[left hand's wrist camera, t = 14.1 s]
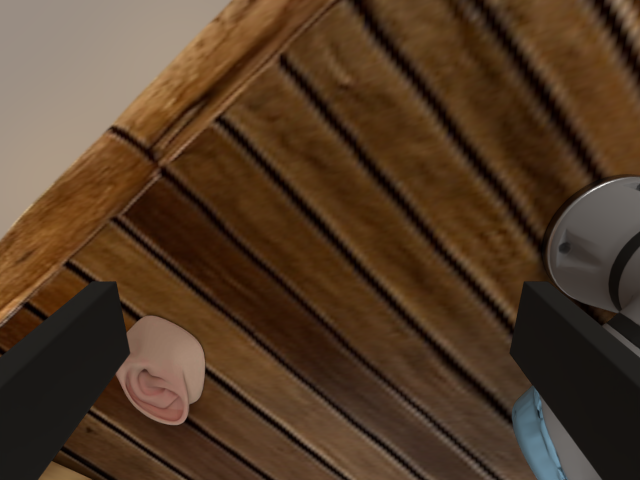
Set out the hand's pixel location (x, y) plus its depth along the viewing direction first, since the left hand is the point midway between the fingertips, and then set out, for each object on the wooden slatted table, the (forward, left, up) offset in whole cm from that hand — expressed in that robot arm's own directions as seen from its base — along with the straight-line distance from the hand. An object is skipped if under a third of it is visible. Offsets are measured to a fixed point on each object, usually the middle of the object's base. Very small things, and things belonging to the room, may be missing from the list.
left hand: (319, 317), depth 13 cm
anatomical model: (-4, +33, -31) cm, 46 cm away
